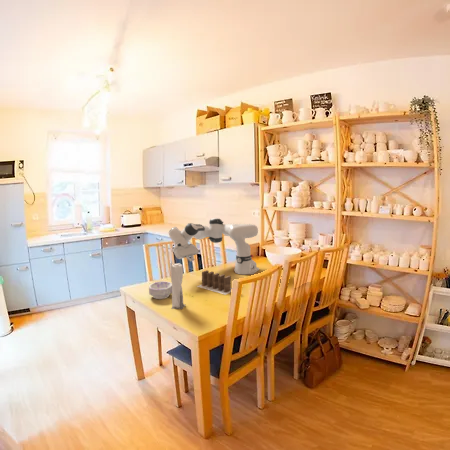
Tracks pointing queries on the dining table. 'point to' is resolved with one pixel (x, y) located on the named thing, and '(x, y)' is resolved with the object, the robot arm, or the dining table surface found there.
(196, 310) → the dining table surface
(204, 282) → the domino
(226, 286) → the domino
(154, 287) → the paper bowls
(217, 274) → the domino
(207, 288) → the board
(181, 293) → the skyscraper
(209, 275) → the domino
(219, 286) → the domino
